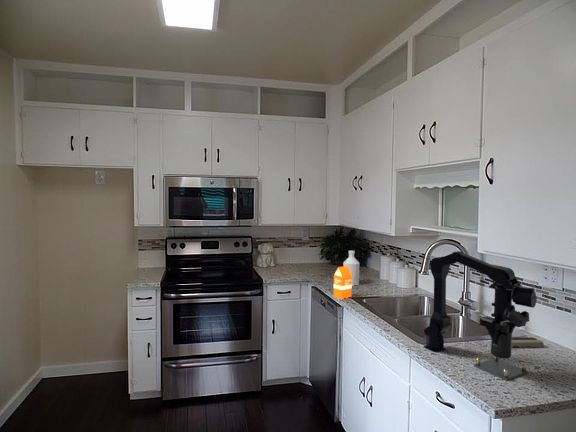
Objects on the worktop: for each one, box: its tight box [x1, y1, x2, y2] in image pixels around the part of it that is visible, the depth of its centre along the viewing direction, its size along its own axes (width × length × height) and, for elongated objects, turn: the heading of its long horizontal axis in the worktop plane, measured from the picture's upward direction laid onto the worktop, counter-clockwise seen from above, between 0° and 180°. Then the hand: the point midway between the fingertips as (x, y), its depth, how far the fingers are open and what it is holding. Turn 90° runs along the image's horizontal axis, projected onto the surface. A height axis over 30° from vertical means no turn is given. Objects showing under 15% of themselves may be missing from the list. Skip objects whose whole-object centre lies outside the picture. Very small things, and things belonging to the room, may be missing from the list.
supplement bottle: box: [490, 323, 513, 360], centre depth 145 cm, size 7×7×12 cm
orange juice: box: [333, 266, 353, 300], centre depth 249 cm, size 8×9×20 cm
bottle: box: [342, 250, 361, 287], centre depth 286 cm, size 12×12×25 cm
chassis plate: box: [473, 356, 529, 382], centre depth 145 cm, size 13×13×3 cm
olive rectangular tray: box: [512, 336, 545, 349], centre depth 171 cm, size 16×8×3 cm, turn 93°
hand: (501, 342), depth 145 cm, fingers closed on supplement bottle, 7 cm apart
